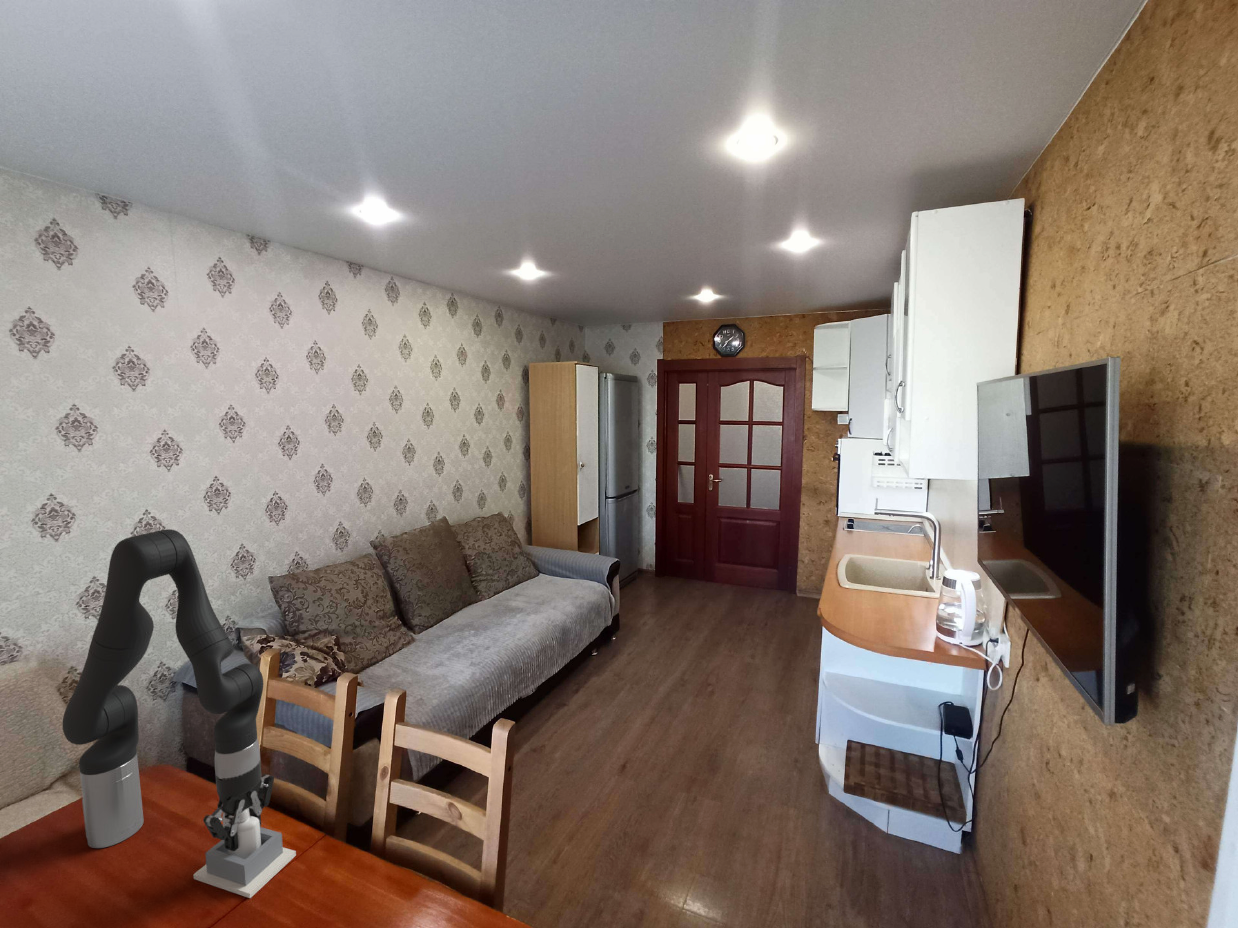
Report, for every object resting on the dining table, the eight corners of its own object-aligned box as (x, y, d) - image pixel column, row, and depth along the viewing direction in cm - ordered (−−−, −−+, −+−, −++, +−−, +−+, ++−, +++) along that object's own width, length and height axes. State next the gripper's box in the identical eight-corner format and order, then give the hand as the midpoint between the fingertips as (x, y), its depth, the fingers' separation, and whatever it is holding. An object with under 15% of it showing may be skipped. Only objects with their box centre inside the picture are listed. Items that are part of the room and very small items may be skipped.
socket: (193, 878, 109) (191, 854, 108) (242, 838, 119) (241, 816, 118) (250, 898, 105) (248, 872, 104) (295, 855, 115) (294, 831, 114)
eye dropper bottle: (244, 868, 109) (240, 814, 107) (225, 860, 110) (221, 807, 109) (265, 851, 113) (261, 799, 111) (245, 844, 115) (241, 792, 113)
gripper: (256, 739, 117) (261, 811, 119) (188, 783, 104) (195, 863, 105) (283, 746, 115) (287, 818, 117) (217, 791, 101) (223, 873, 103)
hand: (243, 839), depth 111 cm, fingers closed on eye dropper bottle, 4 cm apart
